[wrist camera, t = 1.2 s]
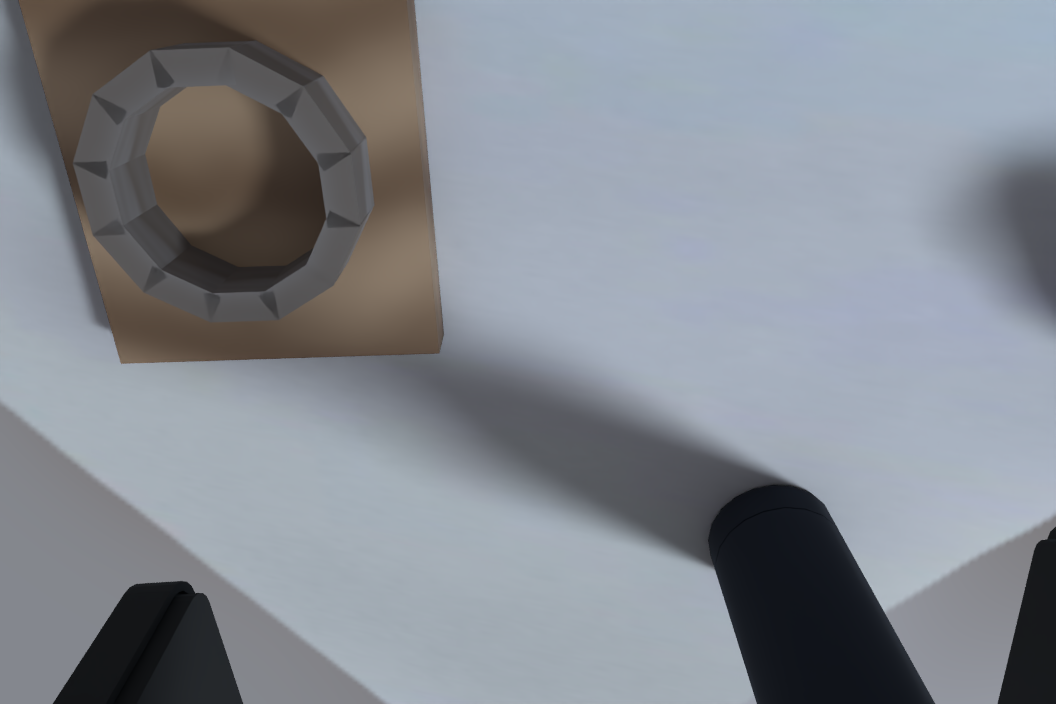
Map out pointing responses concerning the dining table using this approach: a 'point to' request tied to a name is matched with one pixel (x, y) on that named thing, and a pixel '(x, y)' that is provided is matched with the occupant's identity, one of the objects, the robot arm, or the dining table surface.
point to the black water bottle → (805, 606)
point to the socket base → (247, 173)
